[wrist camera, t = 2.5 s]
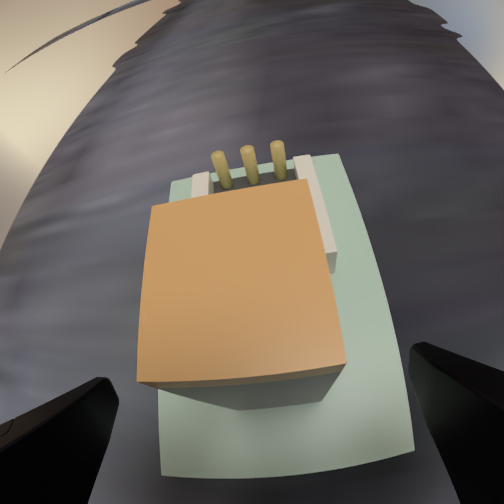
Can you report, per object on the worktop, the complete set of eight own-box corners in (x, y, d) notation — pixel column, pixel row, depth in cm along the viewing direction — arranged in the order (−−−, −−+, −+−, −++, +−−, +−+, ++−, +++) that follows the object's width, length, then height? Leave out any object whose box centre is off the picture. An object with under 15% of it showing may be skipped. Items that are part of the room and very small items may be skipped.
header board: (408, 449, 13) (443, 455, 9) (169, 473, 15) (125, 483, 10) (337, 164, 25) (339, 113, 21) (176, 191, 27) (154, 146, 22)
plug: (321, 401, 15) (347, 362, 6) (238, 410, 15) (136, 381, 6) (309, 315, 18) (307, 178, 8) (232, 326, 18) (152, 206, 9)
